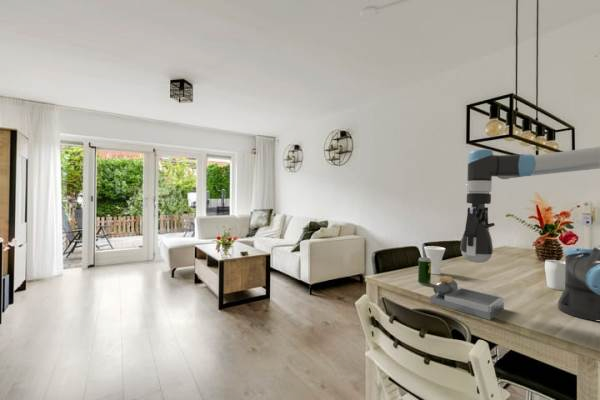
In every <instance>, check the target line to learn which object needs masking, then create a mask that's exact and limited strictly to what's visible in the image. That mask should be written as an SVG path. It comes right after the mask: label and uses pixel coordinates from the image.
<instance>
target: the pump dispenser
mask: <svg viewBox="0 0 600 400" xmlns="http://www.w3.org/2000/svg"><path fill="white" fill-rule="evenodd" d="M495 226H496V225H495V222H490V223H488V224H485V223H484V222H483V221H481V220H480V221H479V222H478V226H477V231H476V235H475V237H476V256H471V255H466V252H467V236H464V234H465V230H464V232H463V234H462V237H461V241H460V247H459V250H460V251H461V255H462V256H463V258H464V259H465V260H467V261H469V262H471V263H472V262H473V263H486V262H488V261H489V260H490V259H491V257H492V254H493V253H494V247H493V240H492V236H491V234H490V233H489V232H490V228H491V227H495ZM488 228H489V230H488Z"/></svg>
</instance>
